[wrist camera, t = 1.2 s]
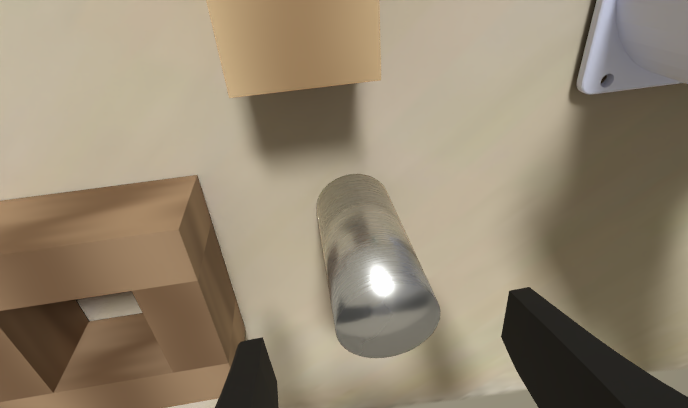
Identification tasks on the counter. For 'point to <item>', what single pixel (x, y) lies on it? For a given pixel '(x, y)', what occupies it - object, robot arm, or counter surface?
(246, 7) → the oak block
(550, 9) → the counter surface
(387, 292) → the pin
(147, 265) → the bored block
